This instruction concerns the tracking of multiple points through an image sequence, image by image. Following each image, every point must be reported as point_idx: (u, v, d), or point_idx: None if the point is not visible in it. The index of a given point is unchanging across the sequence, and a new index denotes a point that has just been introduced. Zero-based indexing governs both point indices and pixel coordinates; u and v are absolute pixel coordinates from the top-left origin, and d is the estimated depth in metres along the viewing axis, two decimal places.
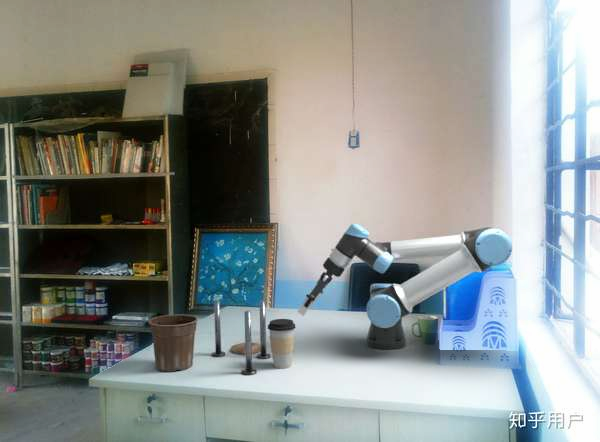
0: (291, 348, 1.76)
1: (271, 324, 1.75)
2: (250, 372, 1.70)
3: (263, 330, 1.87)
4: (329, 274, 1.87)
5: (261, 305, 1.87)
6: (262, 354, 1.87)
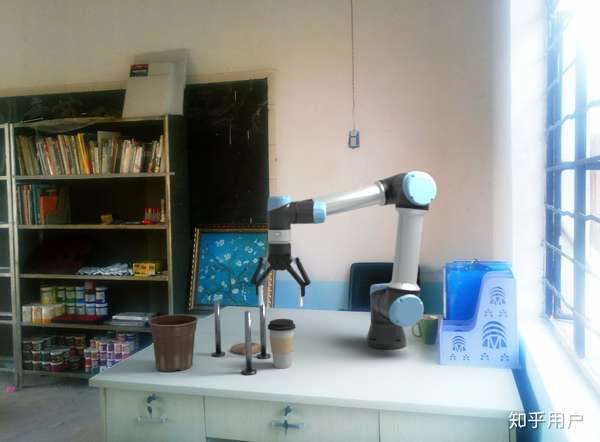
0: (291, 348, 1.76)
1: (271, 324, 1.75)
2: (250, 372, 1.70)
3: (263, 330, 1.87)
4: None
5: None
6: (262, 354, 1.87)
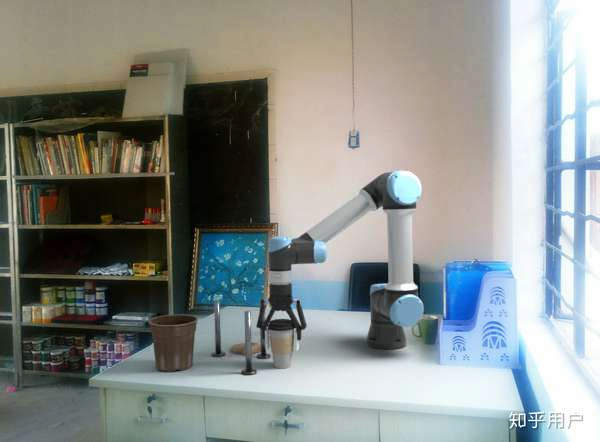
0: (291, 348, 1.76)
1: (271, 324, 1.75)
2: (250, 372, 1.70)
3: None
4: (291, 295, 1.77)
5: None
6: (262, 354, 1.87)
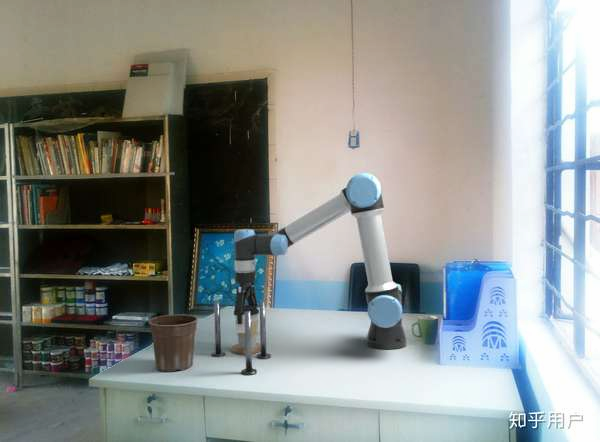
0: None
1: (251, 310, 1.93)
2: (250, 372, 1.70)
3: (263, 330, 1.87)
4: None
5: (261, 305, 1.87)
6: (262, 354, 1.87)
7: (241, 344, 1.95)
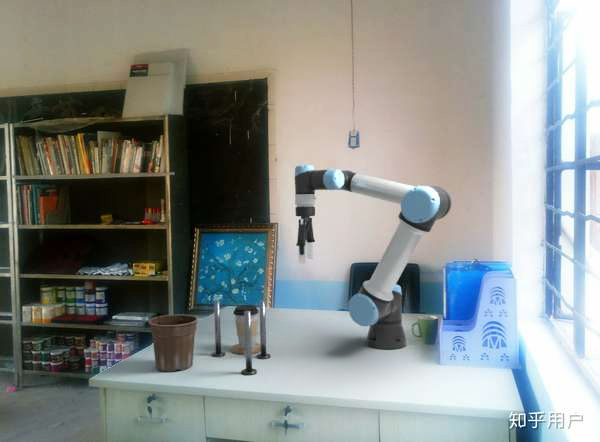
0: None
1: (251, 309, 1.93)
2: (250, 372, 1.70)
3: (263, 330, 1.87)
4: None
5: (261, 305, 1.87)
6: (262, 354, 1.87)
7: (241, 344, 1.95)
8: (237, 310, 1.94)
